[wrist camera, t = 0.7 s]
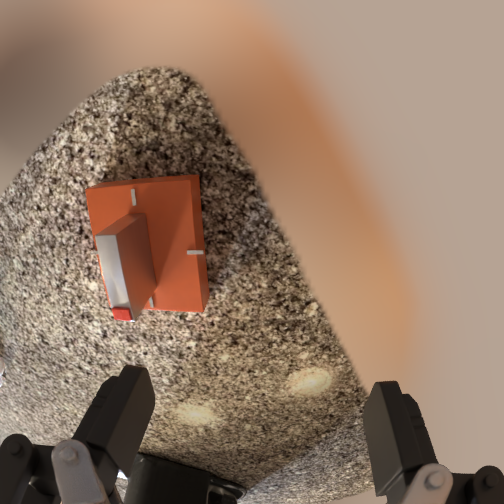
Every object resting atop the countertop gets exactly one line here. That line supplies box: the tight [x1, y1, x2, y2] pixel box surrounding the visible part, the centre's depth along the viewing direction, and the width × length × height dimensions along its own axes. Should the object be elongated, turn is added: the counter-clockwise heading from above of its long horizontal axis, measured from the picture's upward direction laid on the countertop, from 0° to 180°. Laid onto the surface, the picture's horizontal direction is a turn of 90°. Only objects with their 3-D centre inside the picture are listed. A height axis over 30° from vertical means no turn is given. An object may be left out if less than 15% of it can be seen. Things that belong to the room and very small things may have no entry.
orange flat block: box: [85, 174, 210, 312], centre depth 27 cm, size 12×11×3 cm
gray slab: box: [95, 213, 157, 322], centre depth 23 cm, size 7×2×6 cm, turn 2°
